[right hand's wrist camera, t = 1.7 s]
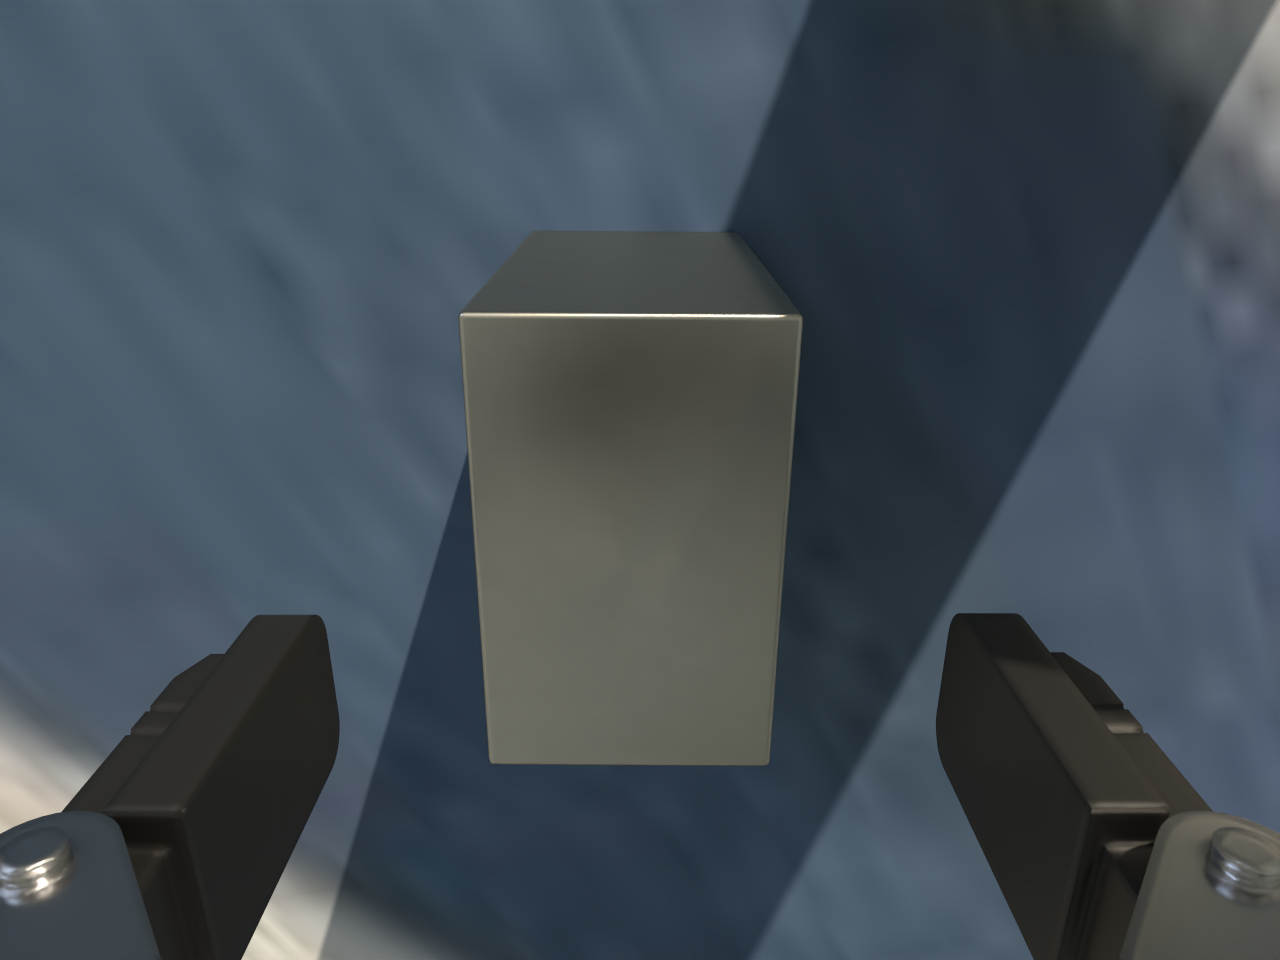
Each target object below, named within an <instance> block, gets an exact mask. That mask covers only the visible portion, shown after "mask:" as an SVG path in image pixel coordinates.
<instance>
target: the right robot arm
mask: <svg viewBox="0 0 1280 960" xmlns="http://www.w3.org/2000/svg"><path fill="white" fill-rule="evenodd" d="M339 727H340V726H339V713H338V707H337V700H336V693H335V686H334V680H333V673H332V666H331V659H330V652H329V646H328V639H327V633H326V628H325V625H324V622H323V620H322V619H321V617H320V616H318V615H257V616H255V617H254V618H253V619H252V620H251V621H250V622H249V623H248V625H247V626H246V627H245V629H244V630H243V631H242V632H241V634H240V635H239V636H238V638H237V639H236V640H235V641H234V643H233V644H232V645H231V646H230V648H229V649H228V650H227V652H226V653H225V654H210V655H209V656H207V657H206V658H204V659H203V660H201V661H199V662H198V663H196V664H195V665H193V666H192V667H190V668H189V669H187V670H186V671H184V672H183V673H181V674H179V675H178V676H176V677H175V678H174V679H173V680H172V681H171V682H170V683H169V685H168V686H167V687H166V688H165V689H164V691H163V692H162V693H161V694H160V695H159V697H158V698H157V699H156V700H155V701H154V702H153V704H152V705H151V710H150V712H145V713H144V714H143V716H142V717H141V718H140V719H139V720H138V722H137V723H136V724H135V725H134V726H133V727H132V729H131V734H130V735H126V736H125V737H124V738H123V739H122V741H121V742H120V743H119V744H118V745H117V747H116V748H115V749H114V750H113V751H112V753H111V754H110V755H109V756H108V757H107V758H106V760H105V761H104V762H103V763H102V764H101V766H100V767H99V768H98V769H97V770H96V772H95V773H94V774H93V775H92V776H91V778H90V779H89V780H88V781H87V782H86V783H85V785H84V786H83V787H82V788H81V789H80V791H79V792H78V793H77V794H76V795H75V797H74V798H73V799H72V800H71V801H70V803H69V804H68V805H67V806H66V807H65V808H64V810H63V811H62V812H61V813H55V814H51V815H47V816H42V817H39V818H36V819H33V820H30V821H27V822H25V823H22V824H20V825H18V826H15V827H13V828H11V829H9V830H7V831H5V832H3V833H1V834H0V960H241V959H242V957H243V955H244V953H245V951H246V948H247V946H248V944H249V942H250V940H251V938H252V936H253V934H254V932H255V930H256V927H257V925H258V923H259V921H260V919H261V917H262V915H263V913H264V911H265V909H266V907H267V904H268V902H269V900H270V898H271V896H272V894H273V892H274V890H275V888H276V886H277V883H278V881H279V879H280V877H281V875H282V873H283V871H284V869H285V867H286V865H287V862H288V860H289V858H290V856H291V854H292V852H293V850H294V848H295V846H296V844H297V841H298V839H299V837H300V835H301V833H302V831H303V829H304V827H305V825H306V823H307V821H308V818H309V816H310V814H311V812H312V810H313V808H314V806H315V804H316V802H317V800H318V797H319V795H320V793H321V791H322V789H323V787H324V785H325V783H326V781H327V779H328V776H329V774H330V772H331V770H332V768H333V765H334V762H335V759H336V755H337V750H338V743H339ZM936 736H937V745H938V751H939V755H940V759H941V762H942V765H943V767H944V770H945V772H946V774H947V776H948V778H949V780H950V782H951V785H952V787H953V789H954V791H955V793H956V795H957V797H958V799H959V801H960V804H961V806H962V808H963V810H964V812H965V814H966V816H967V818H968V821H969V823H970V825H971V827H972V829H973V831H974V833H975V835H976V838H977V840H978V842H979V844H980V846H981V848H982V850H983V852H984V855H985V857H986V859H987V861H988V863H989V865H990V867H991V869H992V872H993V874H994V876H995V878H996V880H997V882H998V884H999V886H1000V889H1001V891H1002V893H1003V895H1004V897H1005V899H1006V901H1007V903H1008V906H1009V908H1010V910H1011V912H1012V914H1013V916H1014V918H1015V920H1016V922H1017V925H1018V927H1019V929H1020V931H1021V933H1022V935H1023V937H1024V939H1025V942H1026V944H1027V946H1028V948H1029V950H1030V952H1031V954H1032V956H1033V959H1034V960H1280V834H1279V833H1277V832H1275V831H1273V830H1271V829H1269V828H1267V827H1265V826H1262V825H1260V824H1258V823H1255V822H1253V821H1250V820H1247V819H1244V818H1241V817H1238V816H1233V815H1229V814H1225V813H1219V812H1213V811H1212V810H1211V809H1210V807H1209V806H1208V805H1207V804H1206V803H1205V801H1204V800H1203V799H1202V798H1201V797H1200V795H1199V794H1198V793H1197V792H1196V791H1195V789H1194V788H1193V787H1192V786H1191V785H1190V783H1189V782H1188V781H1187V780H1186V779H1185V777H1184V776H1183V775H1182V774H1181V773H1180V771H1179V770H1178V769H1177V768H1176V767H1175V765H1174V764H1173V763H1172V762H1171V761H1170V759H1169V758H1168V757H1167V756H1166V755H1165V753H1164V752H1163V751H1162V750H1161V749H1160V747H1159V746H1158V745H1157V744H1156V743H1155V741H1154V740H1153V739H1152V738H1151V737H1150V735H1149V734H1148V733H1143V727H1142V726H1141V725H1140V723H1139V722H1138V721H1137V720H1136V719H1135V717H1134V716H1133V715H1132V714H1131V713H1130V711H1129V710H1124V708H1123V703H1122V702H1121V701H1120V699H1119V698H1118V697H1117V696H1116V695H1115V693H1114V692H1113V691H1112V690H1111V689H1110V687H1109V686H1108V685H1107V684H1106V683H1105V681H1104V680H1103V679H1102V678H1101V677H1100V676H1099V675H1098V674H1096V673H1095V672H1093V671H1091V670H1090V669H1088V668H1087V667H1085V666H1084V665H1082V664H1081V663H1079V662H1078V661H1076V660H1075V659H1073V658H1072V657H1070V656H1068V655H1067V654H1065V653H1064V652H1049V651H1048V649H1047V648H1046V647H1045V646H1044V644H1043V643H1042V642H1041V640H1040V639H1039V638H1038V636H1037V635H1036V634H1035V633H1034V631H1033V630H1032V629H1031V627H1030V626H1029V625H1028V624H1027V622H1026V621H1025V620H1024V619H1023V617H1022V616H1020V615H1019V614H1016V613H959V614H956V615H955V616H954V617H953V619H952V621H951V624H950V627H949V633H948V639H947V646H946V653H945V660H944V667H943V674H942V681H941V688H940V694H939V701H938V708H937V716H936Z"/></svg>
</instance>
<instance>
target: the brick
mask: <svg viewBox="0 0 1280 960" xmlns="http://www.w3.org/2000/svg"><path fill="white" fill-rule="evenodd" d="M458 322H459V336H460V350H461V364H462V379H463V393H464V407H465V421H466V436H467V450H468V464H469V478H470V493H471V507H472V521H473V535H474V550H475V564H476V578H477V592H478V607H479V621H480V635H481V649H482V664H483V678H484V692H485V706H486V721H487V735H488V749H489V759H490V762H491V763H493V764H576V765H714V766H765V765H768V763H769V760H770V748H771V735H772V721H773V708H774V695H775V682H776V669H777V656H778V643H779V630H780V617H781V604H782V591H783V578H784V565H785V552H786V539H787V526H788V513H789V500H790V486H791V473H792V460H793V447H794V434H795V421H796V408H797V395H798V382H799V369H800V356H801V343H802V330H803V317H802V315H801V314H800V312H799V311H798V310H797V308H796V307H795V306H794V304H793V303H792V302H791V301H790V299H789V298H788V297H787V295H786V294H785V293H784V292H783V290H782V289H781V288H780V286H779V285H778V284H777V283H776V281H775V280H774V279H773V277H772V276H771V275H770V273H769V272H768V271H767V270H766V268H765V267H764V266H763V264H762V263H761V262H760V261H759V259H758V258H757V257H756V255H755V254H754V253H753V251H752V250H751V249H750V248H749V246H748V245H747V244H746V242H745V241H744V240H743V239H742V237H741V236H740V235H739V234H738V233H736V232H612V231H533V232H532V233H531V234H530V235H529V236H528V237H527V238H526V239H525V240H524V241H523V243H522V244H521V245H520V246H519V247H518V248H517V249H516V250H515V251H514V253H513V254H512V255H511V256H510V257H509V258H508V259H507V260H506V262H505V263H504V264H503V265H502V266H501V267H500V268H499V269H498V270H497V272H496V273H495V274H494V275H493V276H492V277H491V278H490V279H489V280H488V282H487V283H486V284H485V285H484V286H483V287H482V288H481V289H480V291H479V292H478V293H477V294H476V295H475V296H474V297H473V298H472V299H471V301H470V302H469V303H468V304H467V305H466V306H465V307H464V308H463V309H462V311H461V312H460V313H459V316H458Z"/></svg>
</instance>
